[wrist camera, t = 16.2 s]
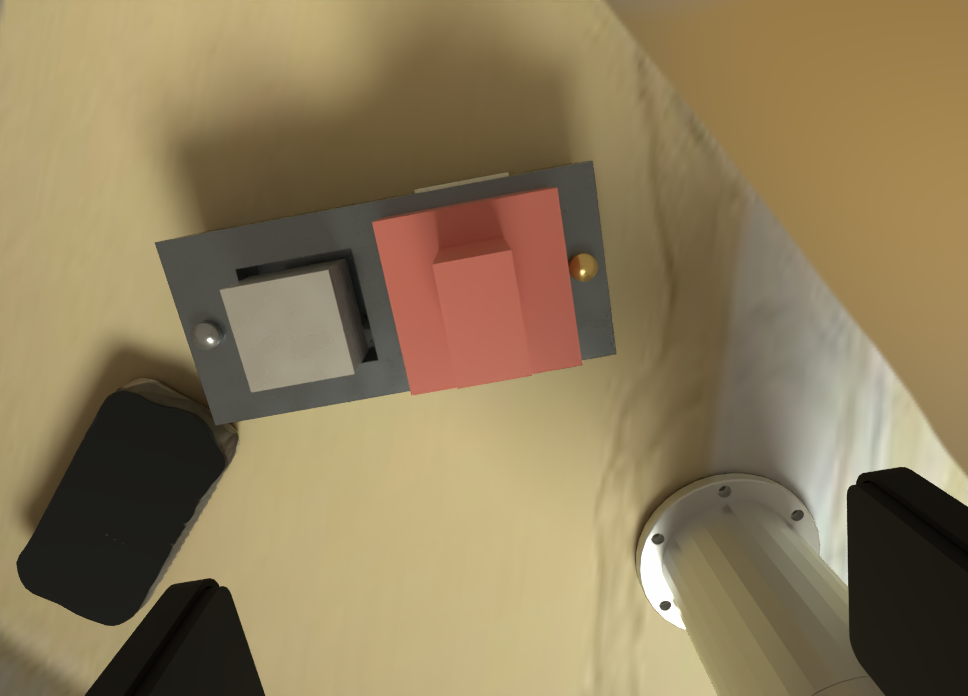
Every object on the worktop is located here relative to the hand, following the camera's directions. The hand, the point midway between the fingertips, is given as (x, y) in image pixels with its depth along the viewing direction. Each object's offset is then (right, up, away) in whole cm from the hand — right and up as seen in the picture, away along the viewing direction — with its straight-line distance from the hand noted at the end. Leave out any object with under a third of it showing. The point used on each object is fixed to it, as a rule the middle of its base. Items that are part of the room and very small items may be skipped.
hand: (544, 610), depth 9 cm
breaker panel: (-6, +8, +27) cm, 29 cm away
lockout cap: (-1, +7, +22) cm, 23 cm away
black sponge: (-24, -5, +32) cm, 40 cm away
